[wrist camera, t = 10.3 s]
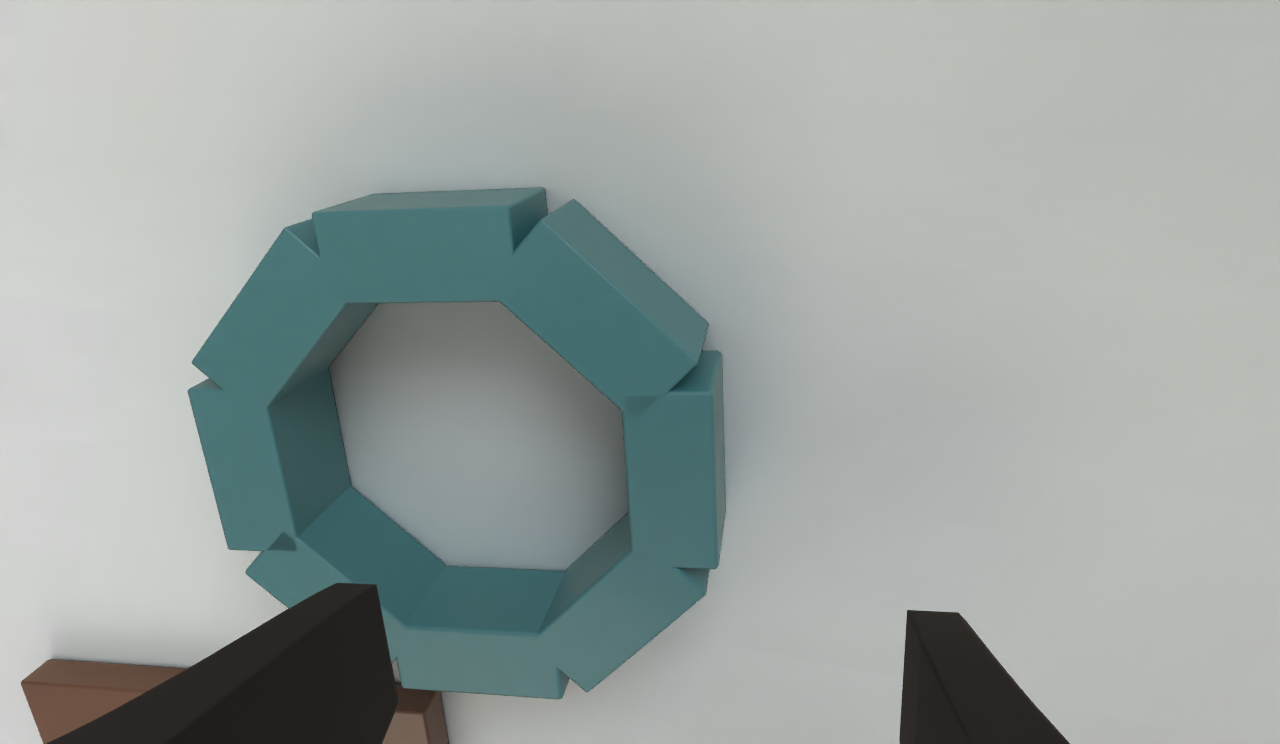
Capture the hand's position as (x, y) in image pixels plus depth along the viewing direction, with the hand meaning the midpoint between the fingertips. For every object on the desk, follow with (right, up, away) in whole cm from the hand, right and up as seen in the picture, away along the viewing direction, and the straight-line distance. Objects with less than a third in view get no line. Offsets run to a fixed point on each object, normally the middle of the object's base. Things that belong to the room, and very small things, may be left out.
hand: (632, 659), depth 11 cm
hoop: (-3, +3, +7) cm, 8 cm away
